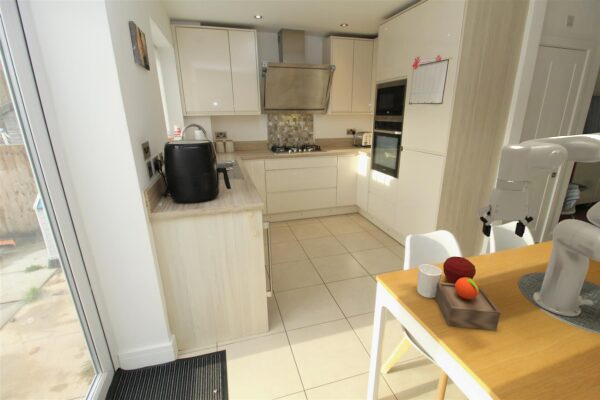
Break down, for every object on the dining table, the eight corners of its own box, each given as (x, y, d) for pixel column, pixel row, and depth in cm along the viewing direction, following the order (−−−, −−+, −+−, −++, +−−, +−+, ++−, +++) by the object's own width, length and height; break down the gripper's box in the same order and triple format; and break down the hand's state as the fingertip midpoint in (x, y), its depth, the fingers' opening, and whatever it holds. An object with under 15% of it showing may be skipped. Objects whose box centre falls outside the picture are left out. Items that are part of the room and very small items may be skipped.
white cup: (440, 300, 101) (444, 276, 98) (417, 297, 103) (421, 274, 100) (434, 287, 108) (438, 265, 106) (413, 285, 110) (416, 263, 107)
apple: (435, 282, 112) (439, 256, 109) (449, 273, 118) (453, 249, 115) (464, 296, 103) (469, 268, 100) (477, 286, 109) (482, 259, 106)
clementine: (485, 304, 90) (489, 284, 88) (466, 307, 88) (470, 287, 86) (465, 289, 97) (469, 271, 95) (448, 292, 96) (451, 274, 94)
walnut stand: (476, 302, 100) (479, 286, 98) (496, 330, 87) (500, 312, 85) (435, 298, 102) (437, 282, 100) (448, 325, 89) (451, 307, 87)
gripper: (534, 181, 88) (524, 231, 93) (475, 182, 91) (468, 230, 96) (550, 187, 81) (539, 240, 86) (486, 188, 84) (479, 240, 89)
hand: (502, 235), depth 91 cm, fingers open, 9 cm apart
